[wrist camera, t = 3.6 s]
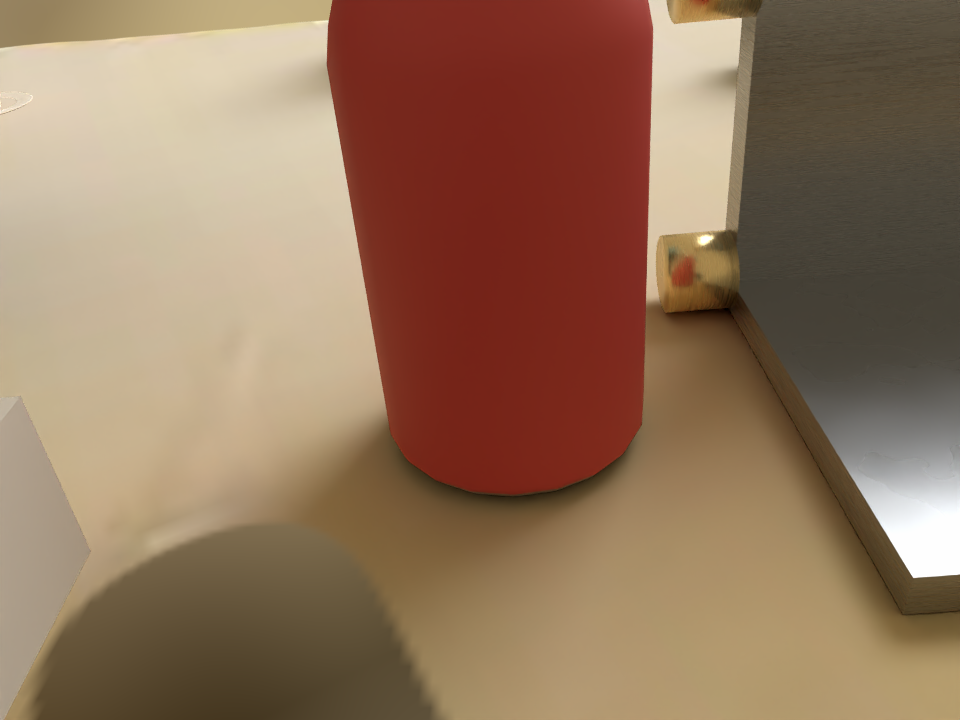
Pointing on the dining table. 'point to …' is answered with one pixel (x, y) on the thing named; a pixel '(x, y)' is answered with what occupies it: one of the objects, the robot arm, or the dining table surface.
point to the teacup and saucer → (20, 100)
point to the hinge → (849, 259)
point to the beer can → (501, 227)
